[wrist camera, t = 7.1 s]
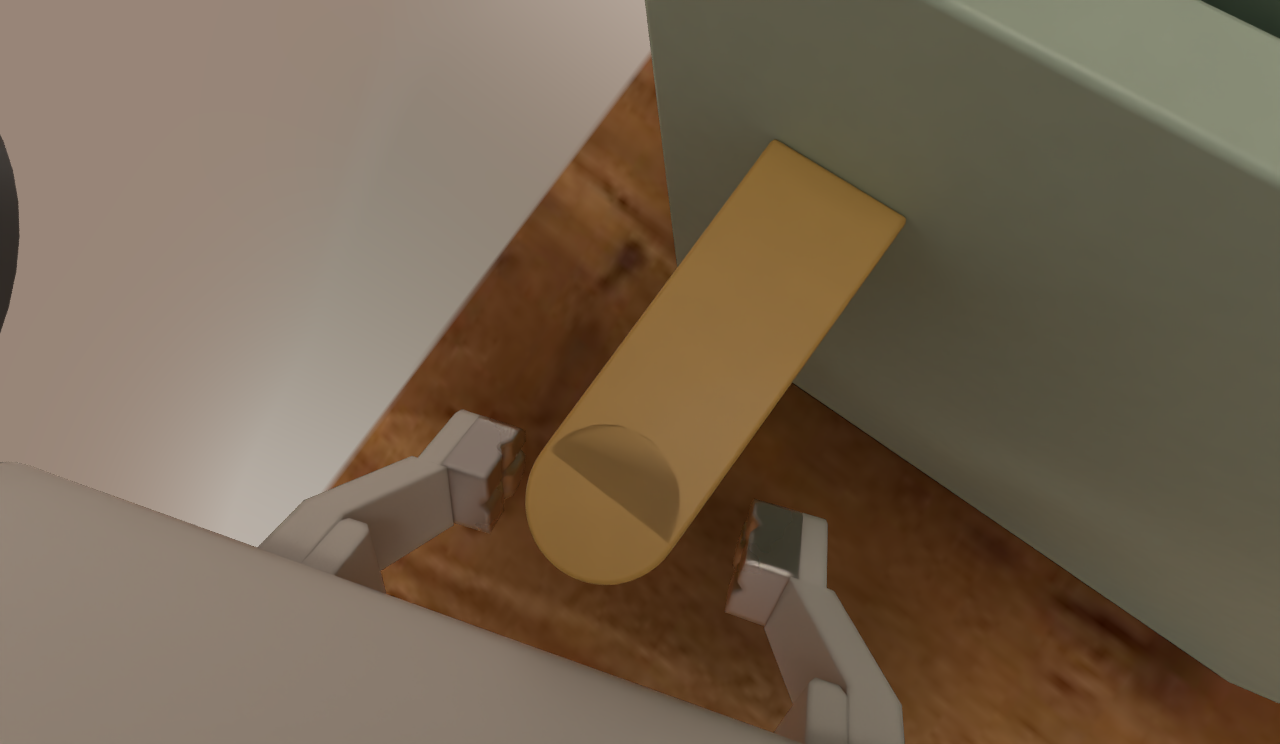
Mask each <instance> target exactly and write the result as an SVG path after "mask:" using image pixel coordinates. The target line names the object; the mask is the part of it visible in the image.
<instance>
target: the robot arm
mask: <svg viewBox="0 0 1280 744" xmlns="http://www.w3.org/2000/svg"><path fill="white" fill-rule="evenodd" d="M525 442H526V432H525V430H524V429H521V428H518V427H515V426H512V425H509V424H506V423H503V422H500V421H497V420H494V419H491V418H488V417H485V416H481V415H478V414H475V413H472V412H469V411H466V410H463V409H462V410H460V411H458V412H456V413H455V414H454V415H453V416H452V418H451V419H450V420H449V421H448V422H447V424H446V425H445V426H444V427H443V428H442V429H441V431H440V432H439V433H438V434H437V435H436V437H435V438H434V439H433V440H432V441H431V443H430V444H429V445H428V446H427V447H426V448H425V450H424V451H423V452H422V453H421V454H420V456H419V457H418V458H417V457H414V456H410V457H408V458H405V459H403V460H401V461H398V462H396V463H393V464H391V465H388V466H386V467H384V468H381V469H379V470H376V471H374V472H371V473H369V474H367V475H364V476H362V477H359V478H357V479H354V480H352V481H350V482H347V483H345V484H342V485H340V486H337V487H335V488H333V489H330V490H328V491H325V492H323V493H321V494H318V495H316V496H313V497H311V498H308V499H306V500H304V501H303V502H302V503H301V504H300V505H299V506H298V507H297V508H296V509H295V510H294V511H293V512H292V513H291V514H290V515H289V516H288V517H287V518H286V519H285V520H284V521H283V522H282V523H281V524H280V525H279V526H278V527H277V528H276V529H275V530H274V531H273V532H272V533H271V534H270V535H269V536H268V538H266V539H265V540H264V541H263V543H261V545H260V546H259V547H258V548H257V547H254V546H251V545H248V544H246V543H243V542H240V541H237V540H235V539H232V538H229V537H226V536H223V535H221V534H218V533H215V532H212V531H210V530H207V529H204V528H201V527H198V526H195V525H193V524H190V523H187V522H184V521H182V520H179V519H176V518H173V517H171V516H168V515H165V514H162V513H160V512H156V511H154V510H151V509H148V508H146V507H143V506H140V505H137V504H134V503H132V502H129V501H126V500H123V499H121V498H118V497H115V496H112V495H110V494H107V493H104V492H101V491H98V490H96V489H93V488H90V487H87V486H84V485H82V484H79V483H76V482H73V481H71V480H68V479H65V478H62V477H60V476H57V475H54V474H51V473H49V472H46V471H43V470H41V469H38V468H35V467H32V466H29V465H26V464H22V463H17V462H0V744H905V741H904V728H903V716H902V705H901V703H900V701H899V700H898V698H897V696H896V695H895V693H894V691H893V690H892V688H891V686H890V685H889V683H888V681H887V679H886V678H885V676H884V674H883V673H882V671H881V669H880V668H879V666H878V664H877V663H876V661H875V659H874V658H873V656H872V654H871V652H870V651H869V649H868V647H867V646H866V644H865V642H864V641H863V639H862V637H861V636H860V634H859V632H858V631H857V629H856V627H855V625H854V624H853V622H852V620H851V619H850V617H849V615H848V614H847V612H846V610H845V609H844V607H843V605H842V604H841V602H840V600H839V598H838V597H837V595H836V593H835V592H834V591H833V590H831V589H828V588H827V537H828V524H827V521H826V519H822V518H819V517H816V516H812V515H809V514H806V513H801V512H800V511H796V510H793V509H789V508H786V507H782V506H779V505H775V504H772V503H769V502H765V501H762V500H758V499H755V498H754V500H753V501H752V503H751V506H750V508H749V512H748V518H747V522H745V523H744V524H743V527H742V529H741V532H740V535H739V539H738V542H737V546H736V550H735V555H734V560H733V567H734V569H735V570H734V573H733V576H732V578H731V581H730V583H729V588H728V594H727V600H726V606H725V612H726V613H729V614H731V615H734V616H737V617H740V618H742V619H745V620H748V621H751V622H753V623H756V624H759V625H762V626H765V627H764V630H765V632H766V635H767V638H768V640H769V643H770V646H771V648H772V651H773V653H774V656H775V659H776V661H777V664H778V667H779V669H780V672H781V674H782V677H783V680H784V682H785V685H786V687H787V690H788V693H789V695H790V698H791V701H792V703H793V706H792V707H791V708H790V710H789V711H788V713H787V714H786V715H785V717H784V718H783V720H782V721H781V723H780V724H779V725H778V727H777V728H776V730H775V731H774V732H770V731H767V730H764V729H761V728H759V727H756V726H753V725H750V724H747V723H745V722H742V721H739V720H736V719H733V718H731V717H728V716H725V715H722V714H720V713H717V712H714V711H711V710H708V709H706V708H703V707H700V706H697V705H694V704H692V703H689V702H686V701H683V700H681V699H678V698H675V697H672V696H669V695H667V694H664V693H661V692H658V691H656V690H653V689H650V688H647V687H644V686H642V685H639V684H636V683H633V682H630V681H628V680H625V679H622V678H619V677H617V676H614V675H611V674H608V673H605V672H603V671H600V670H597V669H594V668H591V667H589V666H586V665H583V664H580V663H578V662H575V661H572V660H569V659H566V658H564V657H561V656H558V655H555V654H552V653H550V652H547V651H544V650H541V649H538V648H536V647H533V646H530V645H527V644H524V643H522V642H519V641H516V640H513V639H510V638H508V637H505V636H502V635H499V634H496V633H494V632H491V631H488V630H485V629H483V628H480V627H477V626H474V625H471V624H469V623H466V622H463V621H460V620H457V619H455V618H452V617H449V616H446V615H443V614H441V613H438V612H435V611H432V610H430V609H427V608H424V607H421V606H418V605H416V604H413V603H410V602H407V601H404V600H402V599H399V598H396V597H393V596H390V595H388V594H386V590H385V586H384V583H383V579H382V575H381V572H380V571H381V570H383V569H384V568H386V567H387V566H389V565H391V564H392V563H394V562H395V561H397V560H399V559H400V558H402V557H403V556H405V555H407V554H408V553H410V552H411V551H413V550H415V549H416V548H418V547H419V546H421V545H423V544H424V543H426V542H427V541H429V540H431V539H432V538H434V537H436V536H437V535H439V534H440V533H442V532H444V531H445V530H447V529H448V528H450V527H452V526H453V525H454V523H456V524H459V525H462V526H466V527H469V528H472V529H476V530H479V531H482V532H486V533H489V534H490V533H491V531H492V529H493V528H494V526H495V524H496V523H497V521H498V520H499V518H500V516H501V515H502V513H503V511H504V499H506V498H508V497H510V496H512V495H514V493H515V491H516V490H517V488H518V486H519V484H520V481H521V479H522V476H523V474H524V469H525V464H526V455H525V454H524V452H523V451H522V449H521V448H522V447H523V445H524V444H525Z"/></svg>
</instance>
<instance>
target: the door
mask: <svg viewBox="0 0 1280 744" xmlns="http://www.w3.org/2000/svg"><path fill="white" fill-rule="evenodd" d="M645 6H646V13H647V22H648V31H649V38H650V47H651V55H652V63H653V72H654V80H655V88H656V96H657V105H658V113H659V121H660V129H661V138H662V146H663V154H664V162H665V170H666V179H667V187H668V195H669V203H670V212H671V220H672V228H673V236H674V245H675V253H676V261H677V269H676V270H675V271H674V273H673V274H672V275H671V277H670V278H669V279H668V281H667V282H666V283H665V285H664V286H663V287H662V289H661V290H660V292H659V293H658V294H657V296H656V297H655V298H654V300H653V301H652V302H651V304H650V305H649V306H648V308H647V309H646V310H645V312H644V313H643V314H642V316H641V317H640V318H639V320H638V321H637V323H636V324H635V325H634V327H633V328H632V329H631V331H630V332H629V333H628V335H627V336H626V337H625V339H624V340H623V341H622V343H621V344H620V345H619V347H618V348H617V350H616V351H615V352H614V354H613V355H612V356H611V358H610V359H609V360H608V362H607V363H606V364H605V366H604V367H603V368H602V370H601V371H600V372H599V374H598V375H597V377H596V378H595V379H594V381H593V382H592V383H591V385H590V386H589V387H588V389H587V390H586V391H585V393H584V394H583V395H582V397H581V398H580V399H579V401H578V402H577V404H576V405H575V406H574V408H573V409H572V410H571V412H570V413H569V414H568V416H567V417H566V418H565V420H564V421H563V422H562V424H561V425H560V426H559V428H558V429H557V431H556V432H555V433H554V435H553V436H552V437H551V439H550V440H549V441H548V443H547V444H546V445H545V447H544V449H543V450H542V451H541V453H540V454H539V456H538V457H537V459H536V461H535V463H534V465H533V467H532V469H531V472H530V475H529V478H528V482H527V487H526V496H525V508H526V516H527V522H528V525H529V528H530V531H531V534H532V536H533V538H534V540H535V542H536V544H537V546H538V547H539V549H540V551H541V552H542V553H543V554H544V556H545V557H546V558H547V559H548V560H549V561H550V562H551V563H552V564H553V565H554V566H555V567H556V568H558V569H559V570H561V571H562V572H563V573H565V574H567V575H569V576H570V577H572V578H574V579H577V580H580V581H583V582H586V583H591V584H596V585H616V584H621V583H626V582H629V581H632V580H635V579H638V578H640V577H641V576H643V575H645V574H647V573H649V572H650V571H651V570H653V569H654V568H656V567H657V566H658V565H659V564H660V563H661V562H662V561H663V560H664V559H665V558H666V557H667V556H668V554H669V553H670V552H671V551H672V549H673V547H675V545H676V544H677V542H678V541H679V540H680V538H681V537H682V535H683V534H684V533H685V531H686V530H687V528H688V527H689V526H690V524H691V523H692V521H693V520H694V519H695V517H696V516H697V514H698V513H699V512H700V510H701V509H702V508H703V506H704V505H705V503H706V502H707V501H708V499H709V498H710V496H711V495H712V494H713V492H714V491H715V489H716V488H717V487H718V485H719V484H720V482H721V481H722V480H723V478H724V477H725V475H726V474H727V473H728V471H729V470H730V468H731V467H732V466H733V464H734V463H735V461H736V460H737V459H738V457H739V456H740V454H741V453H742V452H743V450H744V449H745V447H746V446H747V445H748V443H749V442H750V440H751V439H752V438H753V436H754V435H755V434H756V432H757V431H758V429H759V428H760V427H761V425H762V424H763V422H764V421H765V420H766V418H767V417H768V415H769V414H770V413H771V411H772V410H773V408H774V407H775V406H776V404H777V403H778V401H779V400H780V399H781V397H782V396H783V394H784V393H785V392H786V390H787V389H788V387H789V386H790V385H791V383H794V384H795V385H797V386H798V387H800V388H801V389H803V390H804V391H806V392H807V393H808V394H810V395H811V396H813V397H814V398H816V399H817V400H819V401H820V402H822V403H823V404H825V405H826V406H827V407H829V408H830V409H832V410H833V411H835V412H836V413H838V414H839V415H841V416H842V417H843V418H845V419H846V420H848V421H849V422H851V423H852V424H854V425H855V426H857V427H858V428H860V429H861V430H862V431H864V432H865V433H867V434H868V435H870V436H871V437H873V438H874V439H876V440H877V441H878V442H880V443H881V444H883V445H884V446H886V447H887V448H889V449H890V450H892V451H893V452H894V453H896V454H897V455H899V456H900V457H902V458H903V459H905V460H906V461H908V462H909V463H911V464H912V465H913V466H915V467H916V468H918V469H919V470H921V471H922V472H924V473H925V474H927V475H928V476H929V477H931V478H932V479H934V480H935V481H937V482H938V483H940V484H941V485H943V486H944V487H946V488H947V489H948V490H950V491H951V492H953V493H954V494H956V495H957V496H959V497H960V498H962V499H963V500H964V501H966V502H967V503H969V504H970V505H972V506H973V507H975V508H976V509H978V510H979V511H981V512H982V513H983V514H985V515H986V516H988V517H989V518H991V519H992V520H994V521H995V522H997V523H998V524H999V525H1001V526H1002V527H1004V528H1005V529H1007V530H1008V531H1010V532H1011V533H1013V534H1014V535H1015V536H1017V537H1018V538H1020V539H1021V540H1023V541H1024V542H1026V543H1027V544H1029V545H1030V546H1032V547H1033V548H1034V549H1036V550H1037V551H1039V552H1040V553H1042V554H1043V555H1045V556H1046V557H1048V558H1049V559H1050V560H1052V561H1053V562H1055V563H1056V564H1058V565H1059V566H1061V567H1062V568H1064V569H1065V570H1067V571H1068V572H1069V573H1071V574H1072V575H1074V576H1075V577H1077V578H1078V579H1080V580H1081V581H1083V582H1084V583H1085V584H1087V585H1088V586H1090V587H1091V588H1093V589H1094V590H1096V591H1097V592H1099V593H1100V594H1101V595H1103V596H1104V597H1106V598H1107V599H1109V600H1110V601H1112V602H1113V603H1115V604H1116V605H1118V606H1119V607H1120V608H1122V609H1123V610H1125V611H1126V612H1128V613H1129V614H1131V615H1132V616H1134V617H1135V618H1136V619H1138V620H1139V621H1141V622H1142V623H1144V624H1145V625H1147V626H1148V627H1150V628H1151V629H1153V630H1154V631H1155V632H1157V633H1158V634H1160V635H1161V636H1163V637H1164V638H1166V639H1167V640H1169V641H1170V642H1171V643H1173V644H1174V645H1176V646H1177V647H1179V648H1180V649H1182V650H1183V651H1185V652H1186V653H1188V654H1189V655H1190V656H1192V657H1193V658H1195V659H1196V660H1198V661H1199V662H1201V663H1202V664H1204V665H1205V666H1206V667H1208V668H1209V669H1211V670H1212V671H1214V672H1215V673H1217V674H1218V675H1220V676H1221V677H1222V678H1224V679H1225V680H1227V681H1228V682H1230V683H1233V684H1235V685H1237V686H1240V687H1242V688H1244V689H1247V690H1249V691H1251V692H1254V693H1256V694H1258V695H1261V696H1263V697H1266V698H1268V699H1270V700H1273V701H1275V702H1277V703H1280V38H1278V37H1276V36H1273V35H1271V34H1269V33H1267V32H1265V31H1263V30H1261V29H1259V28H1257V27H1255V26H1253V25H1251V24H1249V23H1247V22H1244V21H1242V20H1240V19H1238V18H1236V17H1234V16H1232V15H1230V14H1228V13H1226V12H1224V11H1222V10H1220V9H1218V8H1215V7H1213V6H1211V5H1209V4H1207V3H1205V2H1203V1H1201V0H645Z"/></svg>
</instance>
